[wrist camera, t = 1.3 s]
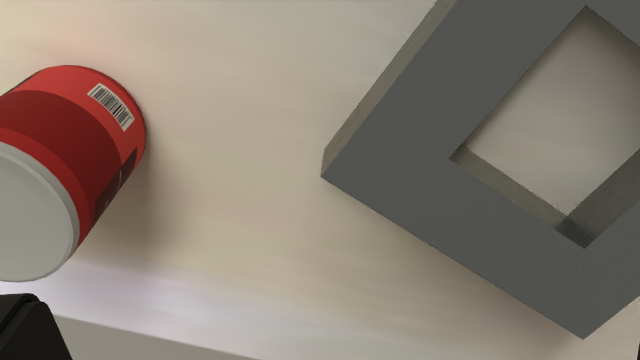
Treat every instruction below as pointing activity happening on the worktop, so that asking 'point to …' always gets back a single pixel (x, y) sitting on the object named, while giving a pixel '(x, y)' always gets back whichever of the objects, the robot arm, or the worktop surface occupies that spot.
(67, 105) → the canned food
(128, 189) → the worktop surface
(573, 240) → the jig
